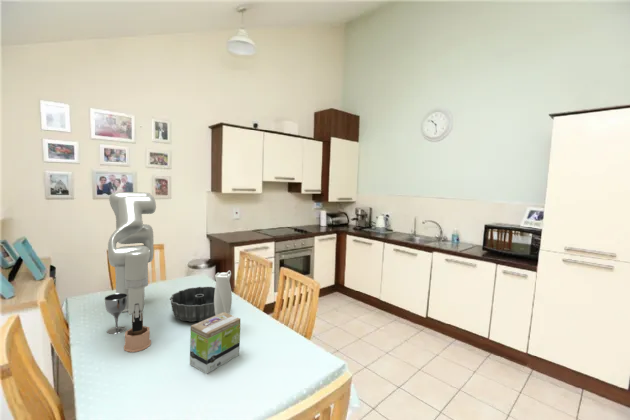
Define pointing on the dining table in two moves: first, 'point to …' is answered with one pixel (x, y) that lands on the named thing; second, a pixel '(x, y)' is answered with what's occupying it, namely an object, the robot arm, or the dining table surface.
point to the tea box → (214, 341)
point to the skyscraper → (222, 293)
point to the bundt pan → (194, 304)
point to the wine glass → (116, 309)
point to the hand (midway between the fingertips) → (137, 327)
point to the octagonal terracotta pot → (137, 340)
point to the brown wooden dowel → (142, 326)
